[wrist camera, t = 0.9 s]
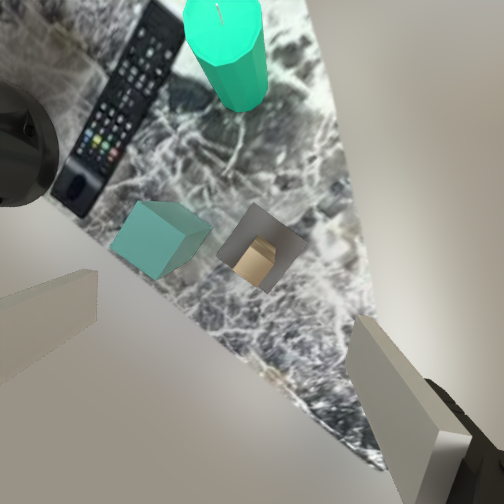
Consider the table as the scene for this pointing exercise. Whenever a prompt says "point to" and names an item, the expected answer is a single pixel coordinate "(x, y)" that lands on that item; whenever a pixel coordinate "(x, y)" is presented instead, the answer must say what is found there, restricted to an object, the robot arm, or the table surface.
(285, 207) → the table surface
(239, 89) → the candle
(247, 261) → the gray square base stand
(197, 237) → the turquoise rectangular block
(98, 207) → the table surface
